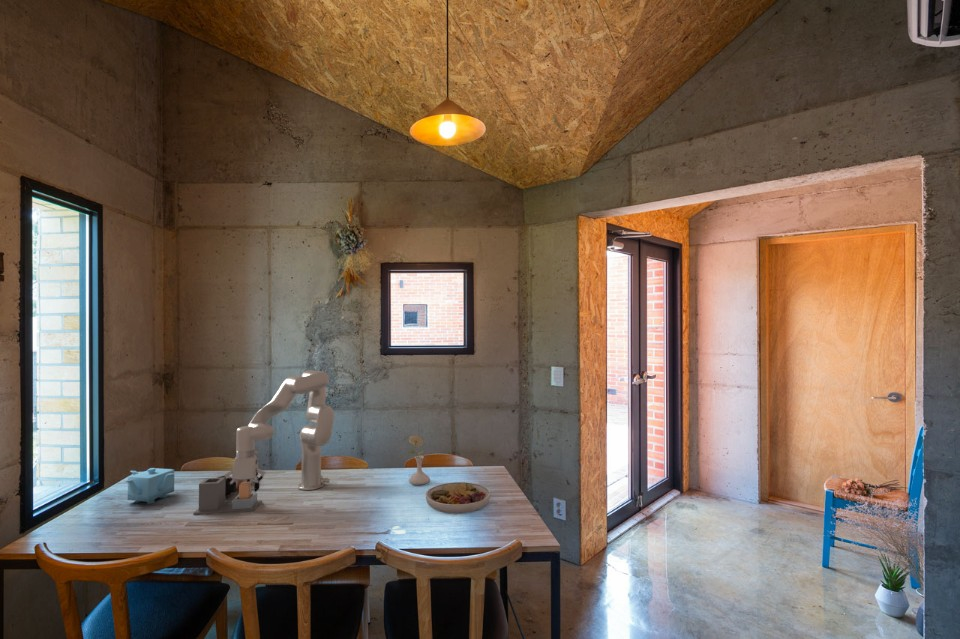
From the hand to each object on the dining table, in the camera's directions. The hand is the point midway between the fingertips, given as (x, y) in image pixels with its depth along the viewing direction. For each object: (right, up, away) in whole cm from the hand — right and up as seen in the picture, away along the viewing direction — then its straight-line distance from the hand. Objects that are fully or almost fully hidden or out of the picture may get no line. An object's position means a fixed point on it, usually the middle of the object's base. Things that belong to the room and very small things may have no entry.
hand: (245, 491), depth 209 cm
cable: (-17, -8, +22) cm, 29 cm away
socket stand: (-7, -7, -1) cm, 10 cm away
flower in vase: (+75, -8, +32) cm, 82 cm away
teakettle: (-51, -8, +10) cm, 53 cm away
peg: (0, -6, 0) cm, 6 cm away
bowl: (+97, -7, +4) cm, 98 cm away
